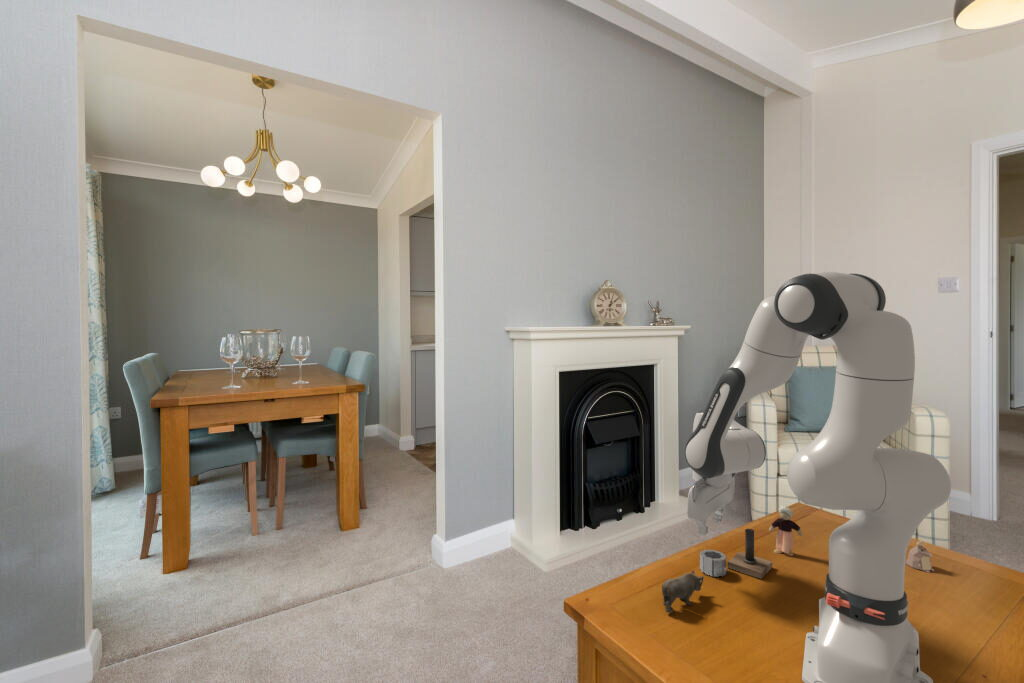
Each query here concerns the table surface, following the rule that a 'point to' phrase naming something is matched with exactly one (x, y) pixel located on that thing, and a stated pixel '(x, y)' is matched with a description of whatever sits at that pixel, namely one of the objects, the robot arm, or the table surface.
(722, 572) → the steel ring
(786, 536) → the grandmother figurine
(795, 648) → the table surface
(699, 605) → the table surface
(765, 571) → the post block
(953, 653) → the table surface
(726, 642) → the table surface
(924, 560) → the mouse figurine
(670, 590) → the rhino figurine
